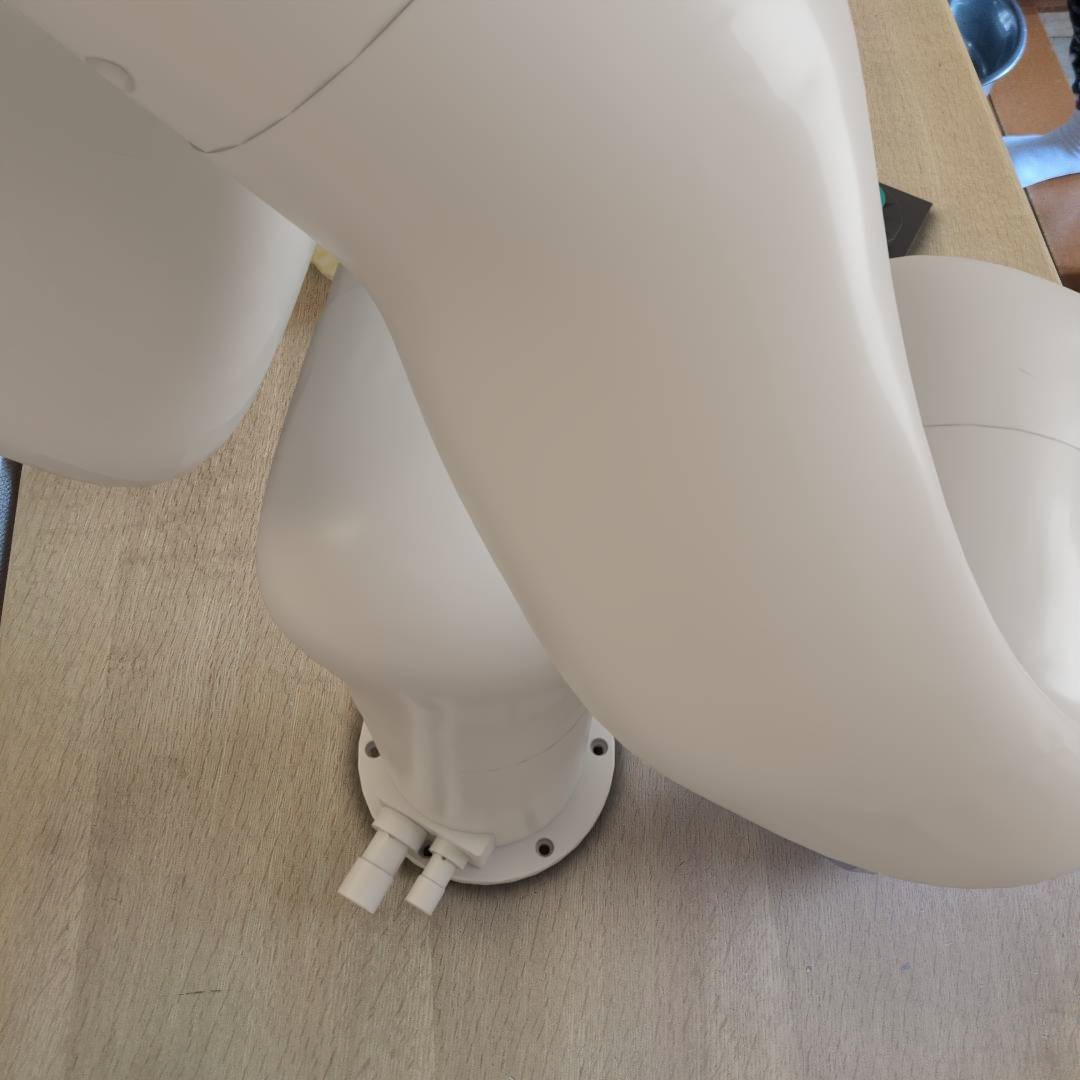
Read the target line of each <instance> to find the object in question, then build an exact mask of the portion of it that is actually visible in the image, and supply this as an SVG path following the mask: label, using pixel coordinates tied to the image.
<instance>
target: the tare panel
mask: <svg viewBox="0 0 1080 1080" xmlns="http://www.w3.org/2000/svg"><path fill="white" fill-rule="evenodd" d="M878 183H879V186H880V187H881V189H882V190H883V192H884V194H885V204H884V206H883V208H882V212H883V219H884V226H885V233H886V240H887V247H888V254H889V259H891V258H897V257H904V256H908V253H909V252H910V250H911V248H912V246H913V244H914V242H915V240H916V238H917V236H918V235H919V232H920V230H921V229H922V228H923V225H924V224H925V221H926V219H927V217H928V215H929V212H930V211H931V209H932V207H933V202H931V201H928V200H926V199H923V198H921V197H918V196H916V195H913V194H910V193H908V192H906V191H903V190H901V189H898V188H895V187H893V186H891V185H888V184H885V183H882V182H880V181H878Z"/></svg>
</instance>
